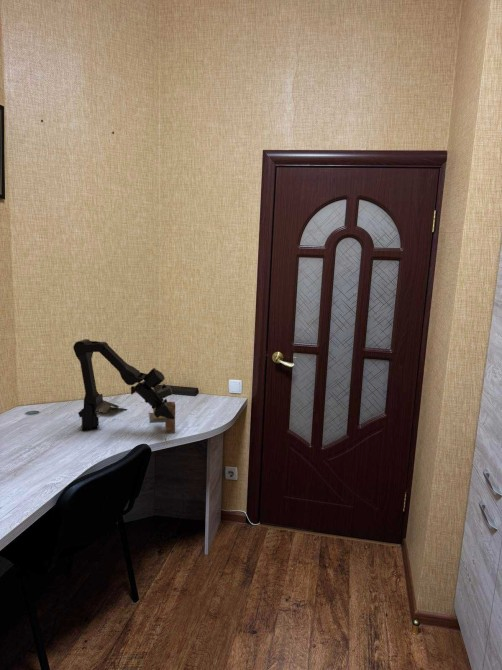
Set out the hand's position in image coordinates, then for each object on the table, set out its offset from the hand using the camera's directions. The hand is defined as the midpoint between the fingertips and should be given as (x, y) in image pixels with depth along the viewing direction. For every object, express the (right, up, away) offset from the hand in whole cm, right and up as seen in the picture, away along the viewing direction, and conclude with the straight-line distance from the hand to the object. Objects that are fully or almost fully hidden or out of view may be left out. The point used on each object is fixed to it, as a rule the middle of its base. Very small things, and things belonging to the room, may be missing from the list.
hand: (173, 417), depth 200 cm
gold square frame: (-9, -4, +17) cm, 19 cm away
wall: (-37, -2, +25) cm, 45 cm away
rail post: (-2, -7, +1) cm, 7 cm away
